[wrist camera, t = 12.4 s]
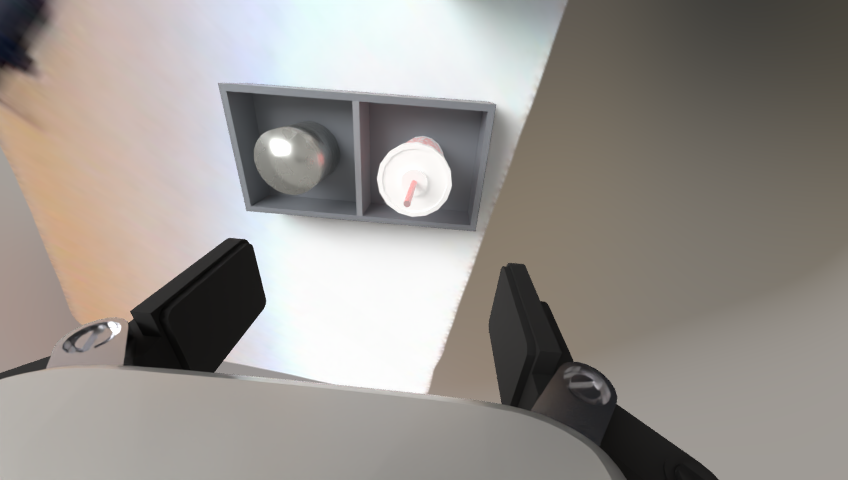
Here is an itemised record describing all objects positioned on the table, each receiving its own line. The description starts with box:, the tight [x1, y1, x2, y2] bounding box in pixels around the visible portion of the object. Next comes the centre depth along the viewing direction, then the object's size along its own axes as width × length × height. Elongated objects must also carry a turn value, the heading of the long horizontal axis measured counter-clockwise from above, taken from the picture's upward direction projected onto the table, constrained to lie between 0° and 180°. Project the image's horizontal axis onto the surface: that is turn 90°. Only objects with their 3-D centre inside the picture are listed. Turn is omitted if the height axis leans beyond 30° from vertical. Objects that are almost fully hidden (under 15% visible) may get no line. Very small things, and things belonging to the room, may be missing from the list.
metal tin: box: [254, 121, 340, 195], centre depth 30 cm, size 6×6×6 cm
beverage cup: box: [377, 136, 452, 217], centre depth 26 cm, size 6×6×14 cm
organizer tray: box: [218, 83, 496, 231], centre depth 31 cm, size 12×25×4 cm, turn 86°
